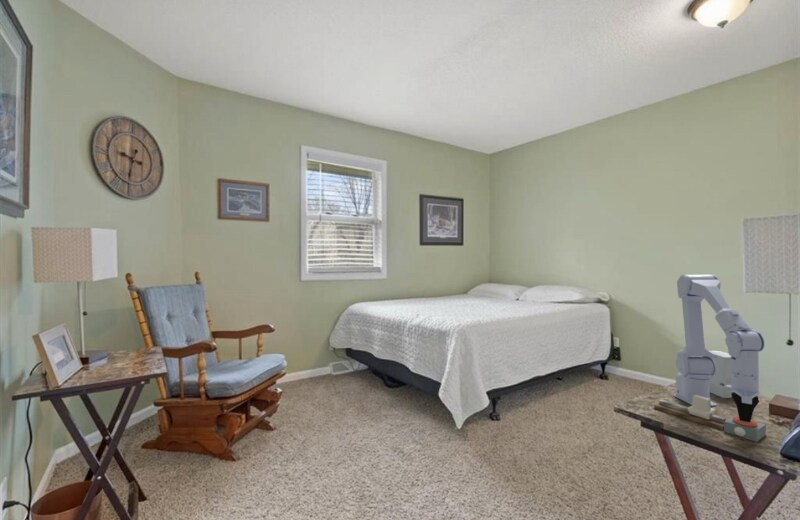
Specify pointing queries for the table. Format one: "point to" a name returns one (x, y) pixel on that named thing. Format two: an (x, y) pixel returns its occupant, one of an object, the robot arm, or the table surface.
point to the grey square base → (745, 430)
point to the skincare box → (721, 375)
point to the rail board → (684, 413)
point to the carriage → (701, 407)
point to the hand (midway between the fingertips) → (744, 420)
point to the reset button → (744, 422)
